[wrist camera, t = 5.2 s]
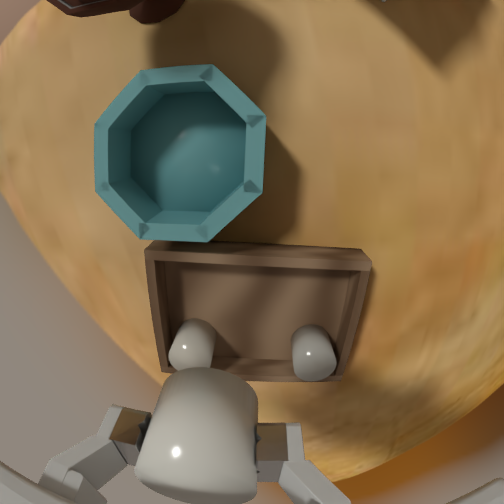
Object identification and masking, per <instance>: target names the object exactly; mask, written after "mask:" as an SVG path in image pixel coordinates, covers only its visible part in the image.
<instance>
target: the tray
mask: <svg viewBox="0 0 504 504" xmlns="http://www.w3.org/2000/svg"><path fill="white" fill-rule="evenodd" d="M144 254H145V265H146V274H147V283H148V292H149V299H150V307H151V314H152V321H153V327H154V333H155V339H156V345H157V351H158V356H159V361H160V366H161V371H162V372H165V373H172V374H173V373H175V372H177V371H178V370H176V369H175V368H174V367H173V366H172V364H171V363H170V361H169V351H170V349H171V346H172V344H173V342H174V339H175V337H176V334H177V332H178V330H179V327H180V325H181V324H182V323H183V322H184V321H185V320H188V319H191V318H198V319H202V320H205V321H207V322H208V323H210V324H211V325H212V326H213V327H214V329H215V331H216V335H217V338H216V343H215V347H214V352H213V356H212V361H211V365H210V368H214V369H219V370H222V371H226V372H229V373H231V374H233V375H235V376H237V377H239V378H241V379H242V380H244V381H266V382H328V381H341V379H342V376H343V373H344V370H345V367H346V363H347V360H348V357H349V354H350V350H351V347H352V343H353V340H354V336H355V333H356V329H357V325H358V321H359V318H360V314H361V310H362V306H363V301H364V297H365V293H366V288H367V284H368V279H369V275H370V270H371V265H372V261H371V260H370V259H369V258H368V256H367V255H366V254H365V253H364V252H363V251H362V250H361V249H354V248H337V247H319V246H301V245H283V244H264V243H244V242H224V241H208V242H190V241H168V240H154V241H153V242H152V243H151V244H150V245H149V246H148V247H147V248H146V249H145V250H144ZM308 324H316V325H320V326H322V327H323V328H325V330H326V331H327V333H328V336H329V339H330V342H331V345H332V348H333V352H334V355H335V358H336V368H335V370H334V371H333V372H332V373H331V374H330V375H329V376H328V377H326V378H324V379H322V380H319V381H304V380H302V379H300V378H298V377H297V376H296V374H295V372H294V366H293V358H292V350H291V342H290V341H291V336H292V334H293V333H294V332H295V331H296V330H297V329H298V328H300V327H302V326H304V325H308Z"/></svg>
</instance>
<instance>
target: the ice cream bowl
mask: <svg viewBox="0 0 504 504" xmlns="http://www.w3.org/2000/svg"><path fill="white" fill-rule="evenodd" d="M47 1H48V2H50V3H51V4H53V5H54V6H56V7H57V8H58V9H60V10H61V11H63V12H64V13H65V14H67V15H71V16H76V17H88V16H96V15H101V14H106V13H112V12H118V11H125V10H129V11H130V16H131V17H133V18H134V19H136V20H137V21H139V22H140V23H151V22H160V21H162V20H163V19H165V18H167V17H169V16H170V15H172V14H174V13H176V12H177V11H178V9H179V8H180V6H181V5H182V3H183V2H184V1H185V0H47Z"/></svg>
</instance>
